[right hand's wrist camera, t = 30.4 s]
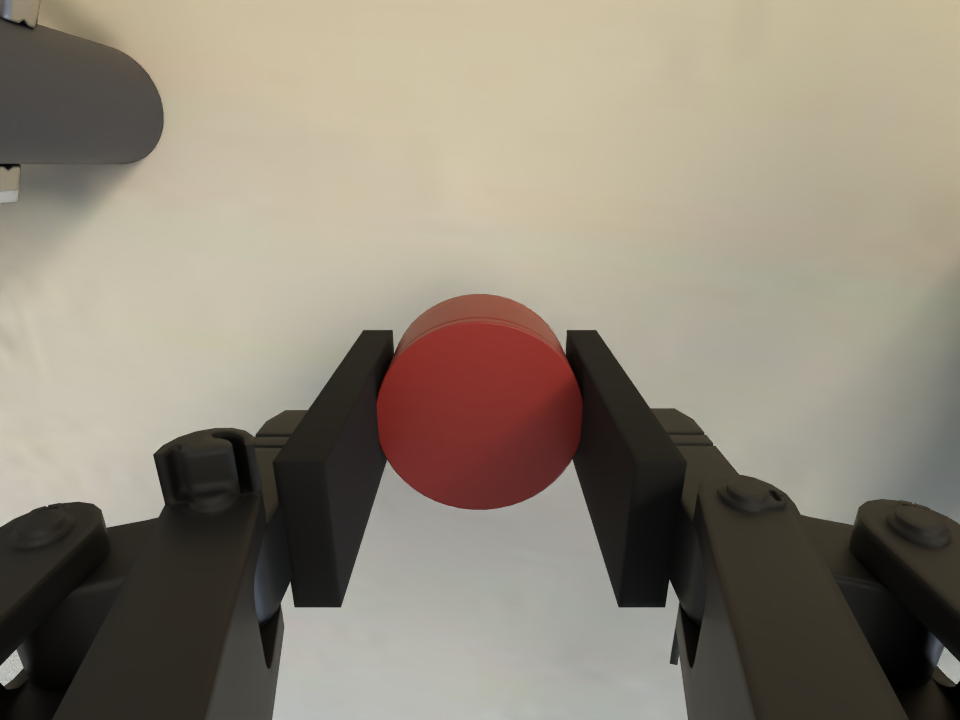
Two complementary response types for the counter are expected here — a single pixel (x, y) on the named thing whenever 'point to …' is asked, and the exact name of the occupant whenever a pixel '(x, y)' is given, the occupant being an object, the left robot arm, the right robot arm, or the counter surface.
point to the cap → (479, 404)
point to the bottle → (72, 100)
